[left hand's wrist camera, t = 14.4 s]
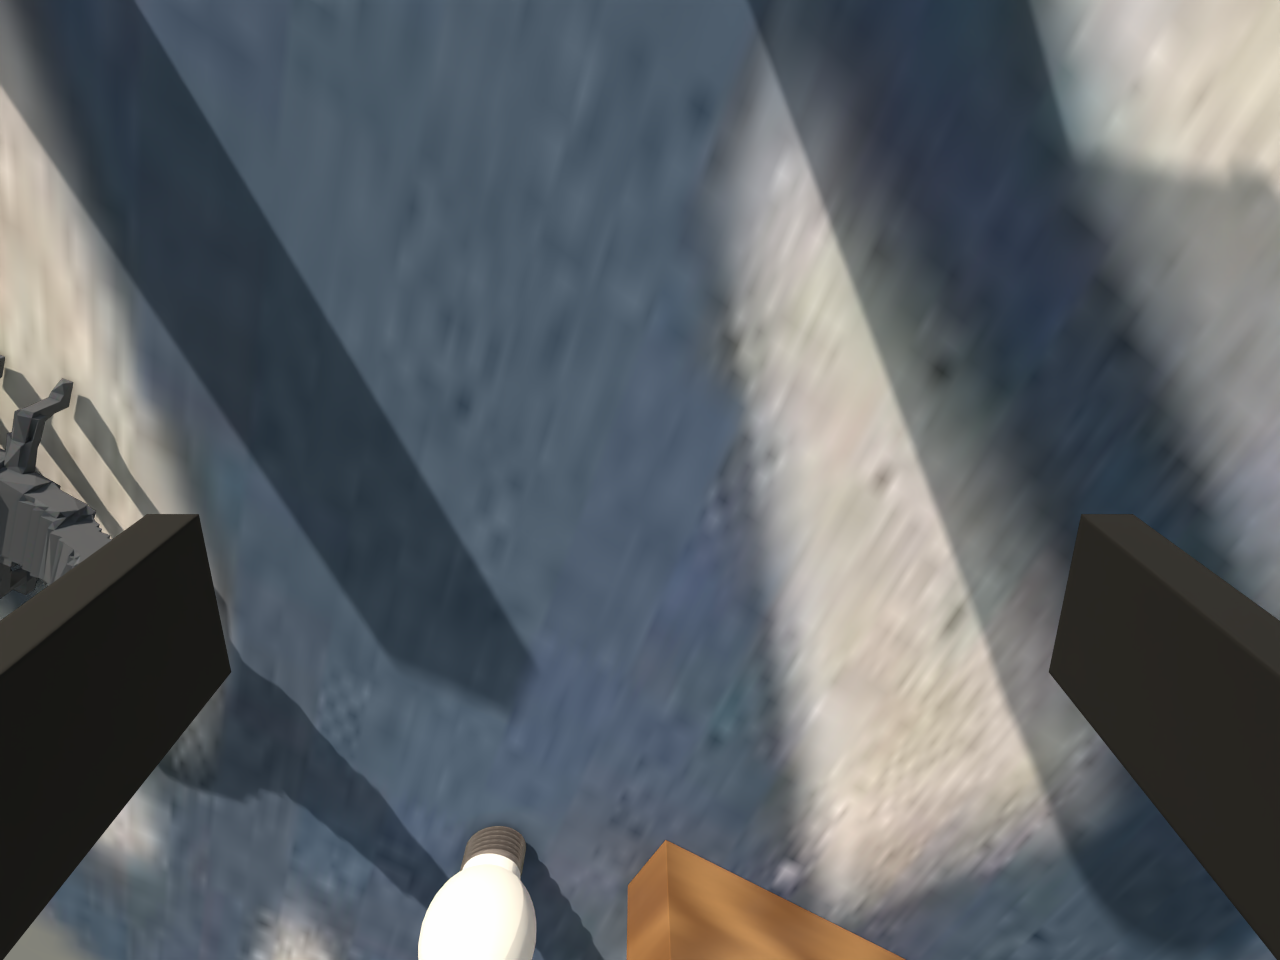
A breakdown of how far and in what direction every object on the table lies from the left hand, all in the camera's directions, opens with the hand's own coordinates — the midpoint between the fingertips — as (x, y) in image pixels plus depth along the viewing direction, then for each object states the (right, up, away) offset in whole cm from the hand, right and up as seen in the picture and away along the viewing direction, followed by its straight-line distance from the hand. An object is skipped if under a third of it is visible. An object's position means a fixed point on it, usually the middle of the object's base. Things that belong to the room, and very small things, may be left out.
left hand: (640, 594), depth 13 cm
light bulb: (-10, -23, +43) cm, 50 cm away
